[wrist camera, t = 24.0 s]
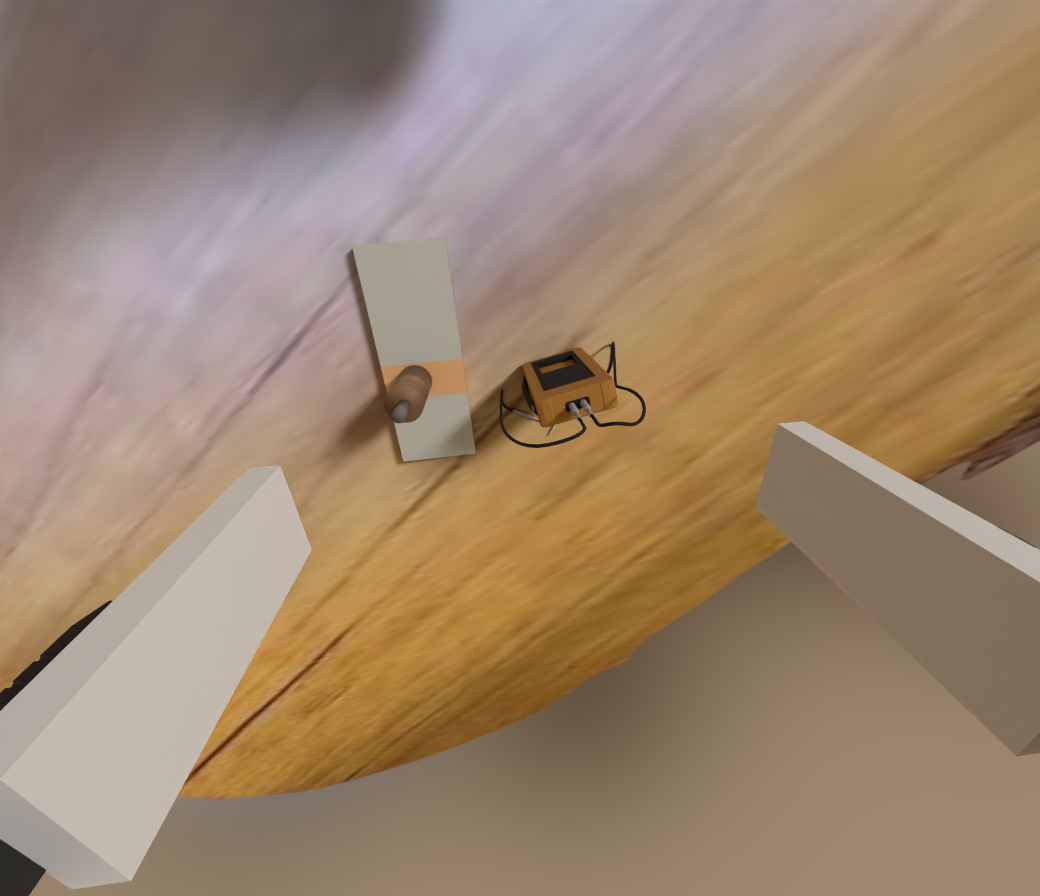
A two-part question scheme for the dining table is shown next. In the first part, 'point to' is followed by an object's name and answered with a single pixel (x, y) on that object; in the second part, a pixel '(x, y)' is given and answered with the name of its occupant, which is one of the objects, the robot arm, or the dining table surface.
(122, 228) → the dining table surface
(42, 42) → the dining table surface
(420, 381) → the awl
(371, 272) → the panel
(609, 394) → the multimeter
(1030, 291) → the dining table surface
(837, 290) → the dining table surface
